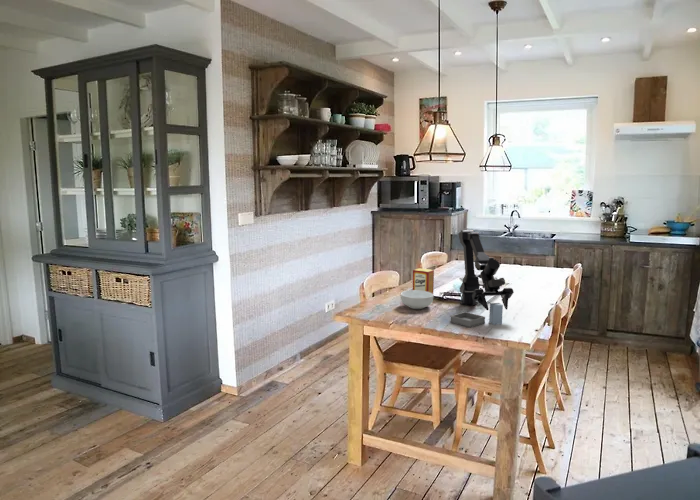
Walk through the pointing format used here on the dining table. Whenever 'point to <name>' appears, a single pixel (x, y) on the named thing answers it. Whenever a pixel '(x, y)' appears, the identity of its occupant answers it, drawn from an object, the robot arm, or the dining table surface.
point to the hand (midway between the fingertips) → (497, 309)
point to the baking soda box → (423, 280)
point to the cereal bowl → (417, 298)
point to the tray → (467, 319)
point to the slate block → (495, 313)
